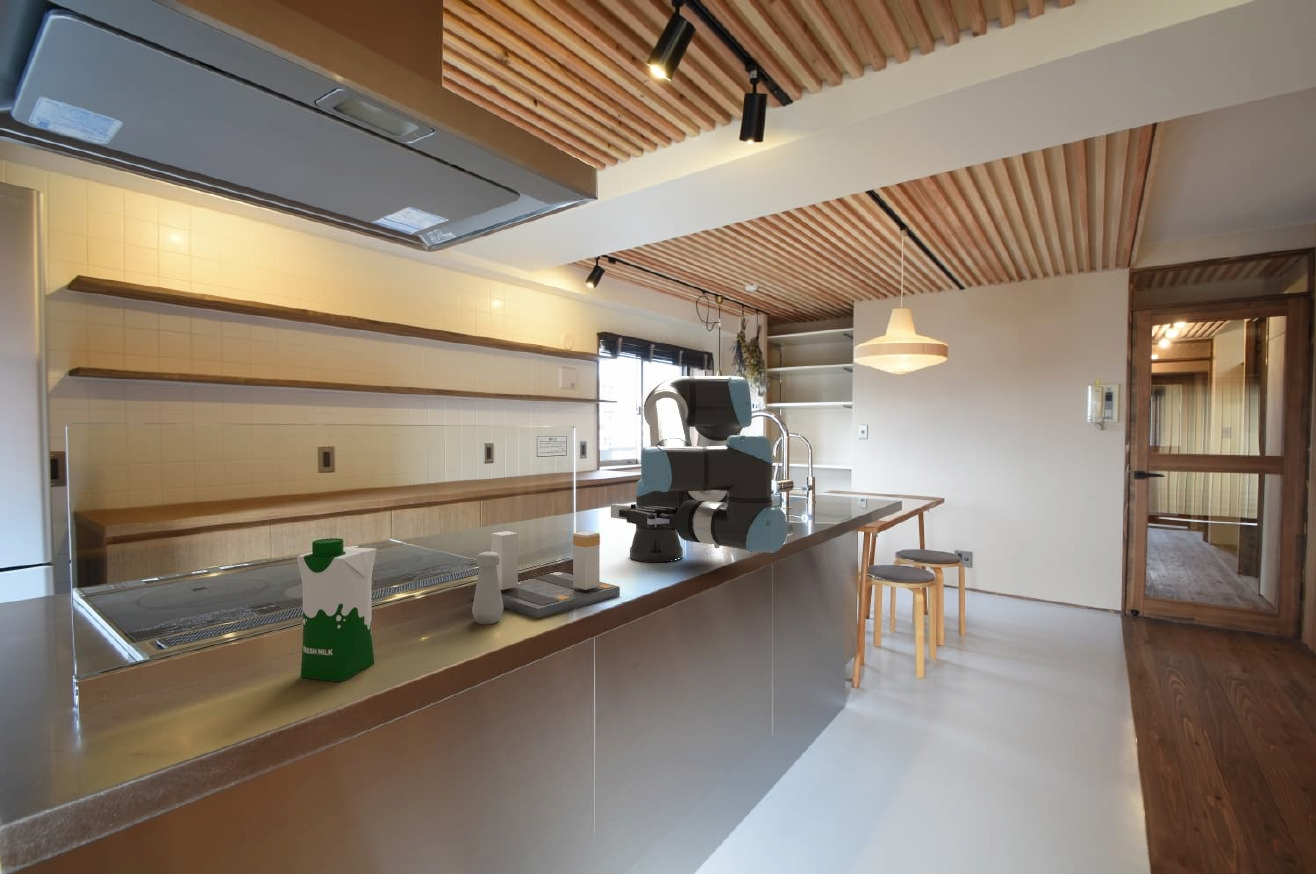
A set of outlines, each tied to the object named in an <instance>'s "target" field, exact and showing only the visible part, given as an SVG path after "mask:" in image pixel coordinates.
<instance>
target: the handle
mask: <svg viewBox="0 0 1316 874" xmlns="http://www.w3.org/2000/svg"><path fill="white" fill-rule="evenodd" d="M600 535H601V533H599V532H596V531H590V530H585V531H579V532H573V533H572V546H573V548H572V575H573V587H577V588H581V589H584V590H587V589H590V588H594V587H598V586H599V582H600V545H601V536H600Z"/></svg>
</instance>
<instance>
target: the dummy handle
mask: <svg viewBox="0 0 1316 874" xmlns="http://www.w3.org/2000/svg"><path fill="white" fill-rule="evenodd" d="M490 537H491V538H490V540H491V541H490V542H491V544H490V545H491V546H490V548H491V549H490V552H496V553H498V554H499V558H500V560H499V564H498V565H496V567H497V573H498V579H499V585H500V590H504V589H509V588H513V587H517V586H518V579H519V533H518V532H513V531H510V530H506V531H504V530H503V531H499V532H492V533H491V536H490Z"/></svg>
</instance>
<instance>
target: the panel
mask: <svg viewBox="0 0 1316 874" xmlns="http://www.w3.org/2000/svg"><path fill="white" fill-rule="evenodd" d="M558 571H559V570H558ZM620 588H621V587H620V586H618V585H615V584H611V583H607V582H603V581H599V586H598V587H594V588H590V589H587V590H584V589H581V588H577V587H573V574H571V573H567V572H564V571H559V572H554V573H550V574H546V575H543V576H539V577H535V578H533V579H528V580H524V581H520V582H518V586H517V587H513V588H509V589H504V590H500V591H501V596H502V601H503V609H507V610H510V611H512V612H513V611H514V612H515V613H519V614H520V615H521V614H522V615H524V616H526V617H530V618H533V619H535V618H536V620H539V619H543V618H547V617H550V616H553V615H556V614H557V615H558V614H561V613H564V612H567V611H571V609H572V610H574V608H575V609H578V608H582V607H585V606H589V605H592V604H595V603H599V601H600V602H603V601H606V600H610V599H613V598H617V597H620V596H621V595H620V594H621V589H620ZM619 595H620V596H619ZM546 616H547V617H546Z"/></svg>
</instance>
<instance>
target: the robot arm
mask: <svg viewBox="0 0 1316 874" xmlns="http://www.w3.org/2000/svg"><path fill="white" fill-rule="evenodd" d="M750 390H751V389H750V385H749V381H748V379H746V378H745V377H743V376H734V375H733V376H732V375H727V376H726V375H719V376H718V375H716V376H715V375H703V376H701V375H700V376H699V375H698V376H691V375H690V376H689V375H681V376H676V377H675V376H674V377H672V378H669V379H667V380H664V381H663V382H661V383H659V384H658V385H657V386H655V387H654V388H653V389H652V390H651V391H650V392H649V393H648V395H647V397H646V398H645V401H644V404H643V417H644V419H645V421H646V423H647V425H648V426H649V437H650V438H649V439H650V446H646V447H643V448H642V450H641V452H640V453H641V454H640V479H639V480H638V481H637V482H636V487H635V488H636V489H635V497H636V499H635V502H636V503H631V504H630V505H629V504H621V503H612V504H611V503H610V518H611V519H619V520H626V523H628V524H633V525H635V532H634V536H633V539H632V543H631V546H630V547H629V557H630V559H631V558H632V559H631V560H633V561H637V560H638V562H643V561H644V562H647V563H663V562H662V561H669V562H672V561H671V560H675V559H678V558H681V559H682V558H683V557H682V556H684V549H683V547H682V545H681V540H680V539H682V540H684V541H687V542H692V543H702V544H707V545H713V546H714V548H715V549H719V548H720V547H725V548H726V547H727V548H731V549H732V548H733V549H739V550H744V551H748V552H751V553H753V552H759V553H767V554H768V553H770V554H773V553H776V552H777V551H779V550H781V549H782V548H783V545H785V542H786V539H787V536H788V531H789V526H788V521H787V516H786V514H785V512H784V511H783V510H782V509H780V508H777V507H775V506H773V500H772V490H773V489H772V488H773V487H772V486H773V484H772V483H773V464H774V461H773V456H772V455H773V454H772V450H773V449H772V442H771V440H770V438H769V437H768V436H766V435H761V434H760V435H757V434H756V435H754V434H753V435H744V434H743V435H741V434H740V433H741V430H742V428H744V429H746V428H748V427H750V426H751V425H752V420H753V419H752V418H753V417H752V416H753V415H752V414H753V413H752V411H753V410H752V397H751V391H750ZM688 427H689V428H695V431H696V432H697V441H696V446H693V443H692V439H691V436H690V431H689V428H688ZM739 434H740V435H739Z"/></svg>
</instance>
